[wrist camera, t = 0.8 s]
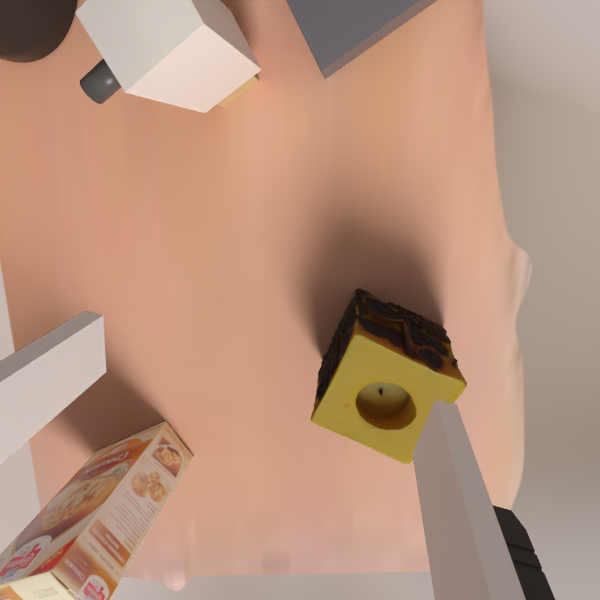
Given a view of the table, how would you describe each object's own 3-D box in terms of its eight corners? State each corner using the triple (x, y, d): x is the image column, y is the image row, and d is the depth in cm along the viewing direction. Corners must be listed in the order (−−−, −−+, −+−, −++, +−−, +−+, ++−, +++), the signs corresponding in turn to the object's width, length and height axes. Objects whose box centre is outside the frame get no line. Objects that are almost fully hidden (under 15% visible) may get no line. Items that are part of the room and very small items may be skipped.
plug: (192, 134, 34) (91, 122, 22) (164, 88, 33) (41, 47, 21) (270, 76, 31) (203, 23, 19) (242, 23, 30) (152, -70, 18)
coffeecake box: (166, 418, 49) (48, 571, 31) (196, 457, 50) (101, 623, 32) (93, 450, 54) (-44, 597, 36) (123, 484, 55) (6, 640, 37)
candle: (357, 286, 37) (353, 328, 28) (447, 325, 37) (473, 381, 28) (319, 362, 41) (304, 420, 32) (400, 398, 41) (409, 467, 32)
